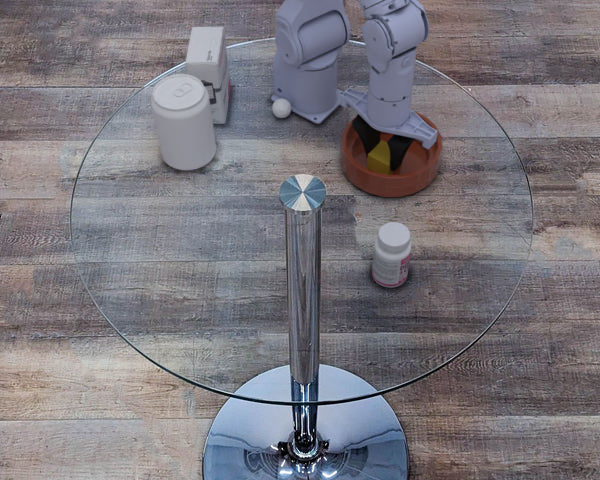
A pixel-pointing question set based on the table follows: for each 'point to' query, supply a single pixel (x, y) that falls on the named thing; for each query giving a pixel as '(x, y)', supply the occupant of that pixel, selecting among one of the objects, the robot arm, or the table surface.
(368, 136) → the robot arm
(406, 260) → the pill bottle
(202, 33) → the ink box
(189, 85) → the beverage can
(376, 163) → the cube
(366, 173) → the bowl
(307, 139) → the table surface
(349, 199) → the table surface
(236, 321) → the table surface
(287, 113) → the white ball
